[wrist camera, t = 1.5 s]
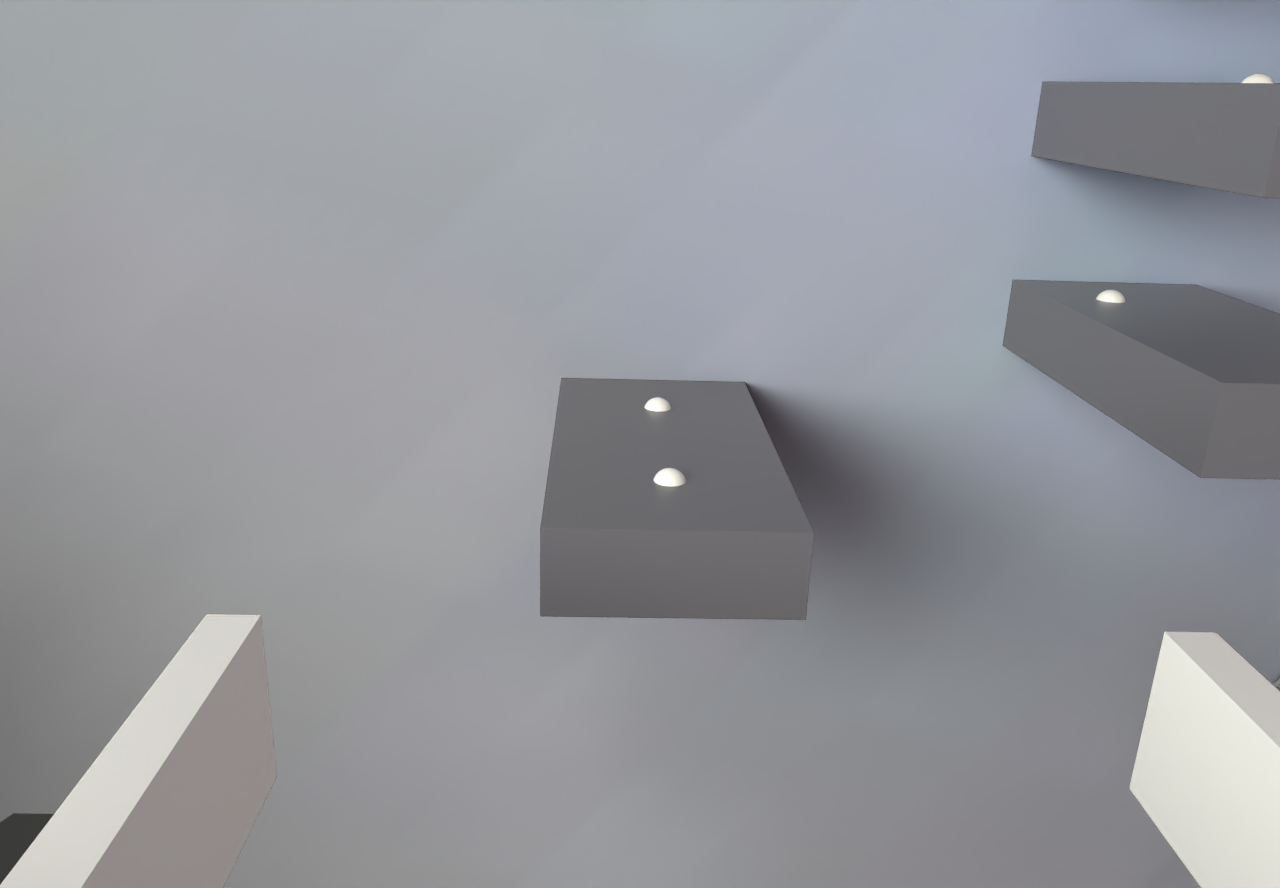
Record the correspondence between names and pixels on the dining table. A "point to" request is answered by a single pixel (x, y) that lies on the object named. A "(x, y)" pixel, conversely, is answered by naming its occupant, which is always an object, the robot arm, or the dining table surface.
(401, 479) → the dining table surface
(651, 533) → the domino
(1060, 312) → the domino
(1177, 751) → the robot arm
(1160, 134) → the domino
